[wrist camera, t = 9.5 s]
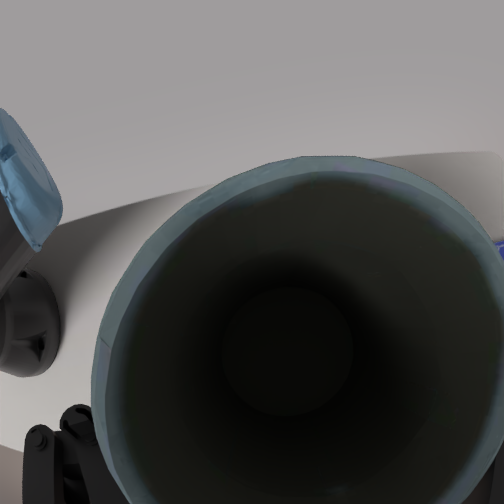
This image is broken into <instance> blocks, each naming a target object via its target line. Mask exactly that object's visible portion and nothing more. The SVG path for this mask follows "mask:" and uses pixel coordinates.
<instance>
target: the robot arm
mask: <svg viewBox="0 0 504 504" xmlns="http://www.w3.org/2000/svg"><path fill="white" fill-rule="evenodd" d="M62 211H63V205H62V200H61V196H60V193H59V191H58V189H57V186H56V184H55V182H54V180H53V178H52V177H51V175H50V173H49V171H48V170H47V168H46V166H45V164H44V162H43V161H42V159H41V158H40V156H39V154H38V153H37V151H36V150H35V148H34V146H33V145H32V143H31V142H30V140H29V139H28V137H27V136H26V135H25V133H24V132H23V131H22V129H21V128H20V126H19V125H18V124H17V122H16V121H15V120H14V119H13V118H12V117H11V116H10V115H8V113H7V112H6V111H5V110H4V109H1V108H0V371H3V372H6V373H8V374H11V375H14V376H17V377H31V376H37V375H40V374H42V373H43V372H45V371H46V370H47V369H48V368H49V366H50V365H51V364H52V362H53V360H54V358H55V355H56V352H57V349H58V345H59V338H60V319H59V311H58V307H57V303H56V300H55V297H54V294H53V292H52V290H51V288H50V286H49V285H48V283H47V282H46V280H45V279H44V278H43V277H42V276H41V275H39V274H38V273H36V272H35V271H32V270H29V269H25V268H24V267H25V266H26V264H27V263H28V262H29V261H30V259H31V258H32V257H33V256H34V255H35V253H36V252H39V251H40V250H41V248H42V244H43V243H44V241H45V240H46V239H47V237H48V236H49V235H50V234H51V232H52V231H53V230H54V229H55V228H56V226H57V225H58V224H59V222H60V219H61V217H62ZM60 429H61V430H62V431H52V430H51V429H50V428H49V427H47V426H46V425H42V424H40V425H35V426H34V427H32V428H31V429H30V430H29V431H28V433H27V435H26V438H25V445H24V458H23V481H22V485H23V486H22V488H23V489H22V495H23V496H22V498H23V499H22V500H23V504H130V503H129V501H128V500H127V498H126V497H125V495H124V494H123V492H122V491H121V489H120V488H119V486H118V484H117V483H116V481H115V480H114V478H113V476H112V474H111V473H110V471H109V469H108V467H107V464H106V462H105V459H104V457H103V454H102V451H101V449H100V446H99V443H98V440H97V437H96V432H95V427H94V422H93V417H92V411H91V407H89V406H87V405H84V404H78V405H73V406H71V407H70V408H68V409H67V410H66V411H65V412H64V413H63V415H62V417H61V419H60ZM461 504H504V441H503V443H502V445H501V447H500V449H499V451H498V453H497V455H496V456H495V458H494V460H493V462H492V464H491V465H490V467H489V468H488V470H487V471H486V473H485V474H484V476H483V477H482V479H481V480H480V481H479V483H478V484H477V486H476V487H475V488H474V490H473V491H472V492H471V494H470V495H469V496H468V497H467V498H466V499H465V500H464V501H463V502H462V503H461Z"/></svg>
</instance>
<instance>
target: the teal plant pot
mask: <svg viewBox="0 0 504 504" xmlns="http://www.w3.org/2000/svg"><path fill="white" fill-rule="evenodd" d="M91 411H92V417H93V422H94V427H95V432H96V437H97V440H98V443H99V446H100V449H101V451H102V454H103V457H104V459H105V462H106V464H107V467H108V469H109V471H110V473H111V474H112V476H113V478H114V480H115V481H116V483H117V484H118V486H119V488H120V489H121V491H122V492H123V494H124V495H125V497H126V498H127V500H128V501H129V503H130V504H461V503H462V502H463V501H464V500H465V499H466V498H467V497H468V496H469V495H470V494H471V492H472V491H473V490H474V488H475V487H476V486H477V484H478V483H479V481H480V480H481V479H482V477H483V476H484V474H485V473H486V471H487V470H488V468H489V467H490V465H491V464H492V462H493V460H494V458H495V456H496V455H497V453H498V451H499V449H500V447H501V445H502V443H503V441H504V260H503V258H502V257H501V255H500V253H499V251H498V249H497V247H496V246H495V244H494V243H493V241H492V240H491V238H490V237H489V236H488V234H487V233H486V231H485V230H484V229H483V227H482V226H481V225H480V223H479V222H478V221H477V220H476V219H475V218H474V217H473V216H472V215H471V213H470V212H469V211H468V210H467V209H466V208H465V207H464V206H462V205H461V204H460V203H459V202H457V201H456V200H455V199H453V198H452V197H451V196H450V195H448V194H447V193H446V192H444V191H443V190H442V189H440V188H439V187H437V186H436V185H435V184H433V183H431V182H429V181H427V180H425V179H423V178H421V177H419V176H417V175H415V174H413V173H411V172H409V171H407V170H404V169H402V168H399V167H396V166H392V165H389V164H385V163H382V162H378V161H374V160H370V159H365V158H361V157H356V156H302V157H297V158H292V159H287V160H282V161H277V162H272V163H268V164H265V165H262V166H260V167H257V168H254V169H252V170H249V171H246V172H244V173H241V174H238V175H236V176H233V177H231V178H228V179H226V180H224V181H223V182H221V183H219V184H218V185H216V186H214V187H213V188H211V189H209V190H208V191H206V192H205V193H203V194H201V195H200V196H198V197H197V198H195V199H193V200H192V201H190V202H189V203H187V204H186V205H184V206H183V207H182V208H181V209H180V210H179V211H177V212H176V213H175V214H174V215H173V216H172V217H170V218H169V219H168V220H167V221H166V222H165V223H164V224H163V225H162V226H161V227H160V228H159V229H158V230H157V231H156V232H155V233H154V234H153V235H152V236H151V237H150V238H149V239H148V240H147V241H146V242H145V243H144V245H143V246H142V247H141V249H140V250H139V251H138V253H137V254H136V256H135V257H134V259H133V260H132V262H131V263H130V265H129V267H128V268H127V270H126V271H125V273H124V274H123V276H122V278H121V279H120V281H119V283H118V284H117V286H116V287H115V289H114V291H113V292H112V295H111V297H110V300H109V302H108V305H107V308H106V310H105V313H104V316H103V318H102V321H101V324H100V328H99V332H98V336H97V341H96V347H95V353H94V360H93V367H92V374H91Z"/></svg>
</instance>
